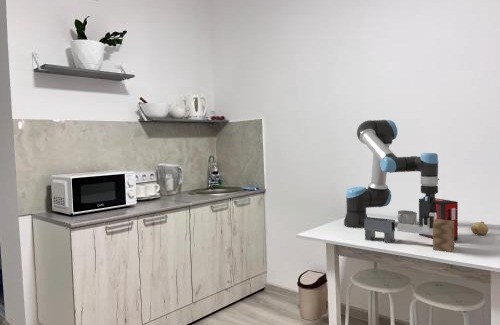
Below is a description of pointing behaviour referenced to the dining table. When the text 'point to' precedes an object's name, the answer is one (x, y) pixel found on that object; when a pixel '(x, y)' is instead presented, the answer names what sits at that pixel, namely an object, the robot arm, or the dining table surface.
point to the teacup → (407, 217)
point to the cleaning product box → (442, 214)
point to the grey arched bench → (379, 228)
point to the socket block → (443, 235)
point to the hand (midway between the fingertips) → (429, 228)
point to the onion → (479, 228)
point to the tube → (416, 227)
